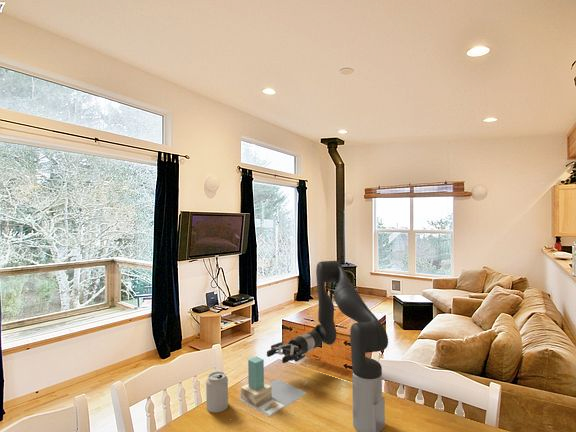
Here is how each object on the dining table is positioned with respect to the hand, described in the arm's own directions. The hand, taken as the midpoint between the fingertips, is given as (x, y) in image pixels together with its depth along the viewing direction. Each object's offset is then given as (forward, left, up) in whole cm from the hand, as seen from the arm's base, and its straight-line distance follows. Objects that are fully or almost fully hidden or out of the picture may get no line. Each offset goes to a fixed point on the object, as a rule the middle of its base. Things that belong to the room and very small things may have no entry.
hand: (275, 357), depth 131 cm
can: (+6, +23, -13) cm, 27 cm away
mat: (-4, +5, -12) cm, 14 cm away
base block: (0, +10, -12) cm, 15 cm away
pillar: (0, +10, -8) cm, 12 cm away
